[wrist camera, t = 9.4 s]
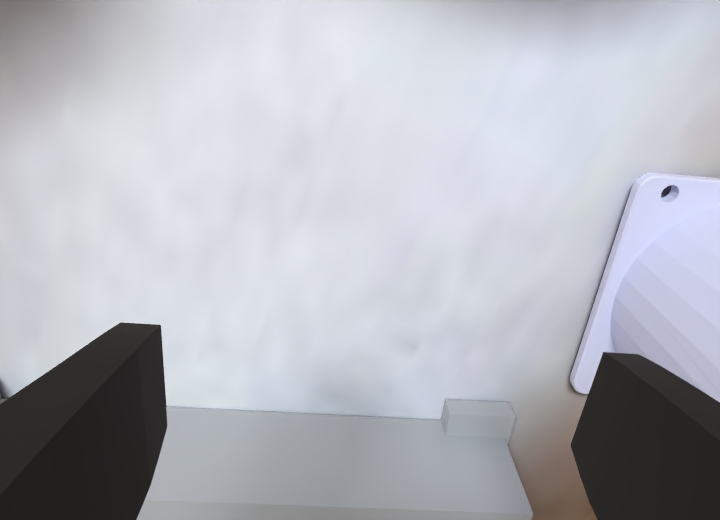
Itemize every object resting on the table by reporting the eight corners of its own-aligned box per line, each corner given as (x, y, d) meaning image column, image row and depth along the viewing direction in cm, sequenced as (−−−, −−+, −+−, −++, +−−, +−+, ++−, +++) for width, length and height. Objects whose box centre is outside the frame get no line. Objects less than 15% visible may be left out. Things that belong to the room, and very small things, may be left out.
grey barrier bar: (509, 402, 20) (547, 490, 16) (493, 462, 21) (524, 557, 18) (-79, 371, 18) (-179, 462, 15) (-58, 438, 20) (-147, 537, 16)
